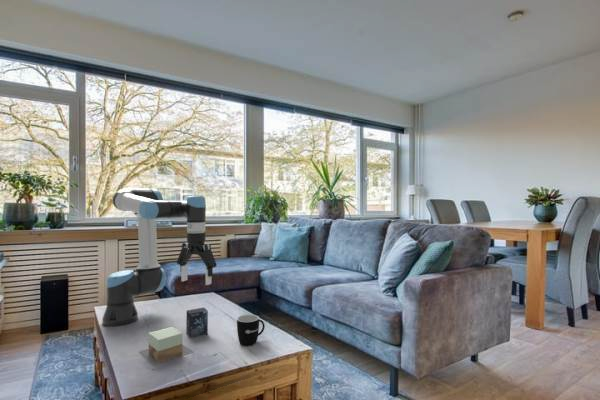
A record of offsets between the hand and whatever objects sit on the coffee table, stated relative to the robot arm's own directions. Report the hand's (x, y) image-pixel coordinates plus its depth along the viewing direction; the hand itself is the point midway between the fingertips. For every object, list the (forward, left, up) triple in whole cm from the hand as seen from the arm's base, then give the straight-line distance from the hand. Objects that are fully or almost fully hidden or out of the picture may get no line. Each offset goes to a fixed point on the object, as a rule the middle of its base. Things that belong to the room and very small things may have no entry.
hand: (196, 282), depth 142 cm
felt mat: (+5, -15, -23) cm, 28 cm away
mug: (+20, +14, -24) cm, 34 cm away
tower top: (+7, -16, -19) cm, 26 cm away
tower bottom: (+7, -16, -23) cm, 29 cm away
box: (-3, +2, -24) cm, 24 cm away
